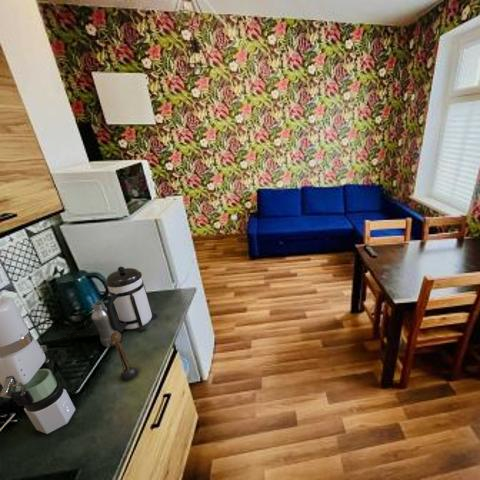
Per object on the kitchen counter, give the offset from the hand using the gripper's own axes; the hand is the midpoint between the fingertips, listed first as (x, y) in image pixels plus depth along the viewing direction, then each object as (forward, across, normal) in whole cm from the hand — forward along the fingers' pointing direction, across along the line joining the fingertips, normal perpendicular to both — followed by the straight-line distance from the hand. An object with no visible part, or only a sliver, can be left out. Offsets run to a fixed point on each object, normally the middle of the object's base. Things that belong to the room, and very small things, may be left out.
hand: (37, 388), depth 77 cm
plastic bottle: (+14, -32, +5) cm, 35 cm away
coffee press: (+14, -41, +12) cm, 45 cm away
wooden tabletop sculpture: (+14, -11, +17) cm, 25 cm away
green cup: (+2, 0, 0) cm, 2 cm away
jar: (+14, 0, 0) cm, 14 cm away
